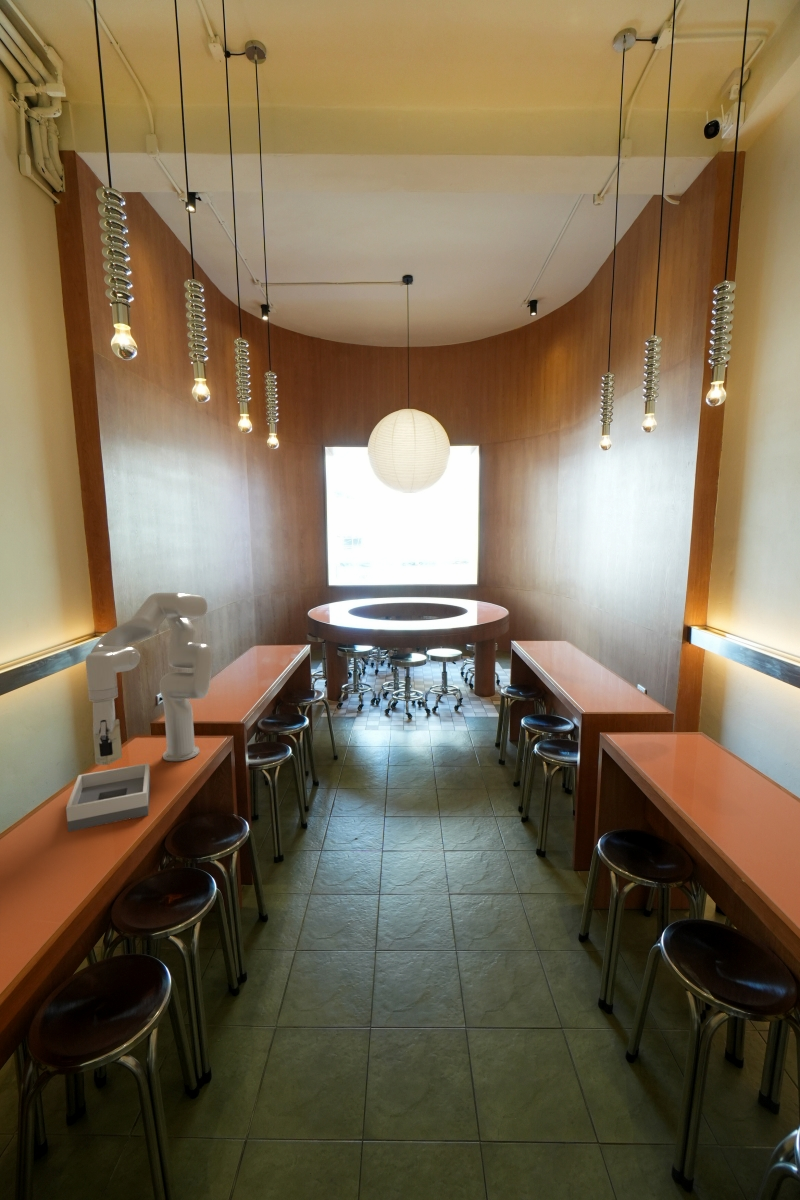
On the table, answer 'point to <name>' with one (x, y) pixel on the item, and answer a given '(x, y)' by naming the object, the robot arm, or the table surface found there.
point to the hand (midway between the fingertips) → (108, 750)
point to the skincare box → (115, 745)
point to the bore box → (109, 797)
